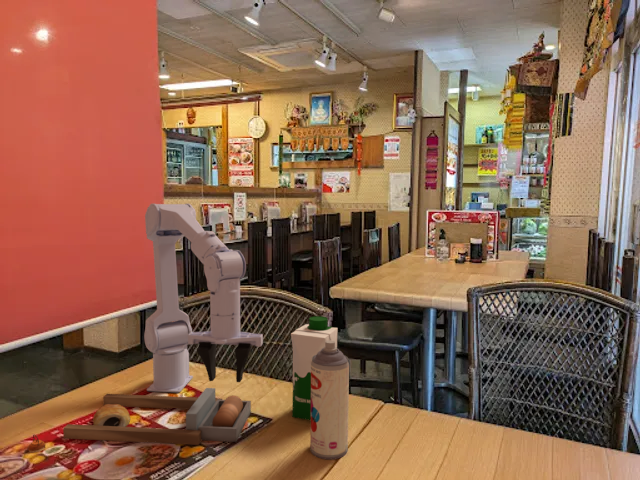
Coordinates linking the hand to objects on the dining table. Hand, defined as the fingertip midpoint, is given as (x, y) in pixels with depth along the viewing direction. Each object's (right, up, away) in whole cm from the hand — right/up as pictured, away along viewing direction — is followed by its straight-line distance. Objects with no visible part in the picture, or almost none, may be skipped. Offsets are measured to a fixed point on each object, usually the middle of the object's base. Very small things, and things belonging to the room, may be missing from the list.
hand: (225, 379), depth 92 cm
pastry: (-23, -10, +1) cm, 25 cm away
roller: (0, -9, +1) cm, 9 cm away
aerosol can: (+20, -11, -8) cm, 24 cm away
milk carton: (+17, -9, +7) cm, 21 cm away
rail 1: (-15, -9, +9) cm, 20 cm away
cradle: (0, -9, +1) cm, 9 cm away
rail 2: (-17, -10, -5) cm, 20 cm away
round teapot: (-32, -10, -8) cm, 35 cm away
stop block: (-5, -9, +1) cm, 11 cm away
